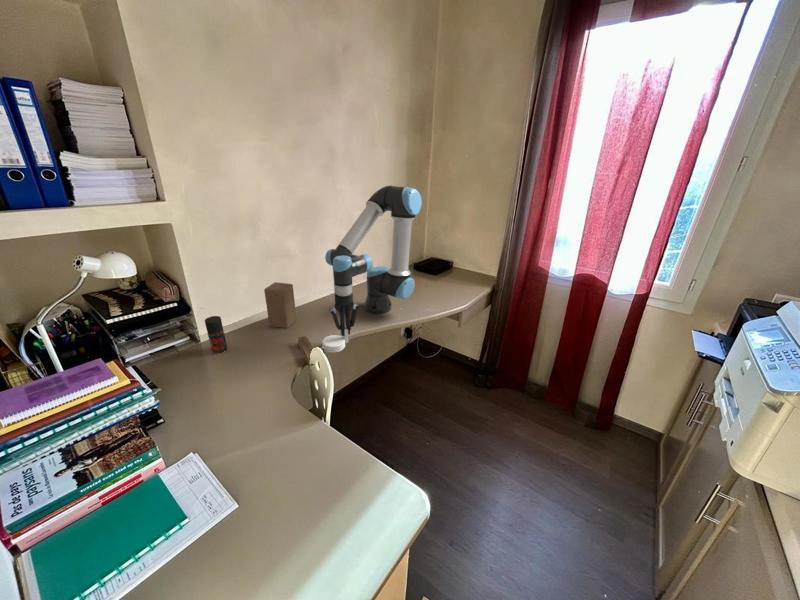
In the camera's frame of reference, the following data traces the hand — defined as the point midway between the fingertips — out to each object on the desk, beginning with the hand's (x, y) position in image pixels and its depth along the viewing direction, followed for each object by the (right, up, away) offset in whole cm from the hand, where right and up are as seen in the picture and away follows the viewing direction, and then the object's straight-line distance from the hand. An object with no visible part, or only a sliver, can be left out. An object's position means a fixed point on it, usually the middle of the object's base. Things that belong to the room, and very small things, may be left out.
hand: (345, 341), depth 151 cm
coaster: (-5, -3, -2) cm, 6 cm away
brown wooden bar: (-15, -4, -7) cm, 17 cm away
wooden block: (-34, +7, +17) cm, 38 cm away
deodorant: (-53, -3, -6) cm, 54 cm away
